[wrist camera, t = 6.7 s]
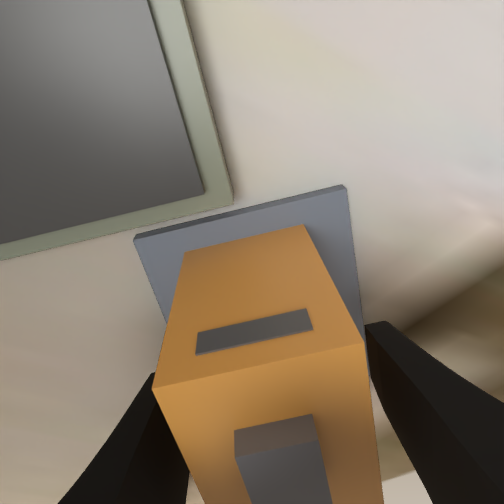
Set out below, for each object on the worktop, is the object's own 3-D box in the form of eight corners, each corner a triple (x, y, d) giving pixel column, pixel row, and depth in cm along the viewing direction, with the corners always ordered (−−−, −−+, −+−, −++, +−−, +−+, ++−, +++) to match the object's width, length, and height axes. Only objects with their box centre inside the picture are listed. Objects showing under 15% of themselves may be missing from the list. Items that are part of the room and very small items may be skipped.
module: (223, 366, 15) (221, 568, 9) (184, 250, 12) (143, 413, 6) (324, 343, 14) (394, 534, 8) (303, 222, 12) (375, 362, 6)
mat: (203, 403, 16) (202, 412, 16) (136, 234, 13) (132, 240, 12) (365, 367, 16) (370, 376, 15) (342, 184, 12) (346, 188, 12)
